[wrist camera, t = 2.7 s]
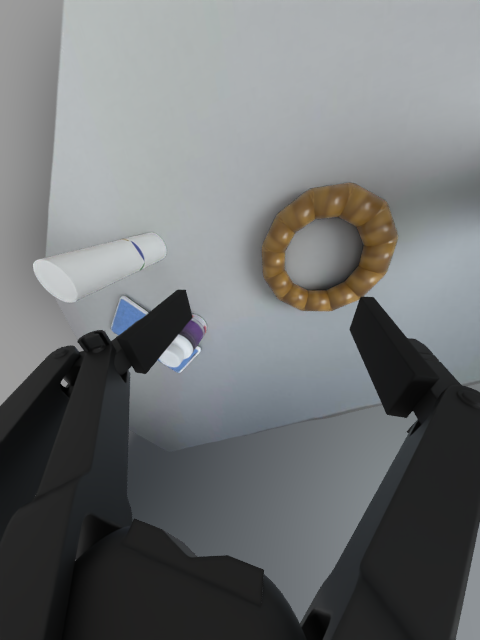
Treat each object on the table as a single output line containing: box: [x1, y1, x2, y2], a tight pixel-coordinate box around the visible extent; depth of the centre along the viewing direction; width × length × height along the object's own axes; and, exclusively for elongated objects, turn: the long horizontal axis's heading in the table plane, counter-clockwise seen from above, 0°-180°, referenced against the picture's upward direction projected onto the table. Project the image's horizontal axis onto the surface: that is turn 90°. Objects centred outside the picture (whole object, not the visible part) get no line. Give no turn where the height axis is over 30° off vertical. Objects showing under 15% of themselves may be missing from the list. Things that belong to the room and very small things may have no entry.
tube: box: [33, 232, 167, 303], centre depth 23 cm, size 4×4×15 cm
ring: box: [262, 183, 398, 311], centre depth 23 cm, size 15×15×3 cm
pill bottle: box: [159, 314, 207, 367], centre depth 32 cm, size 5×5×10 cm
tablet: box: [111, 296, 201, 373], centre depth 41 cm, size 19×13×1 cm, turn 53°
